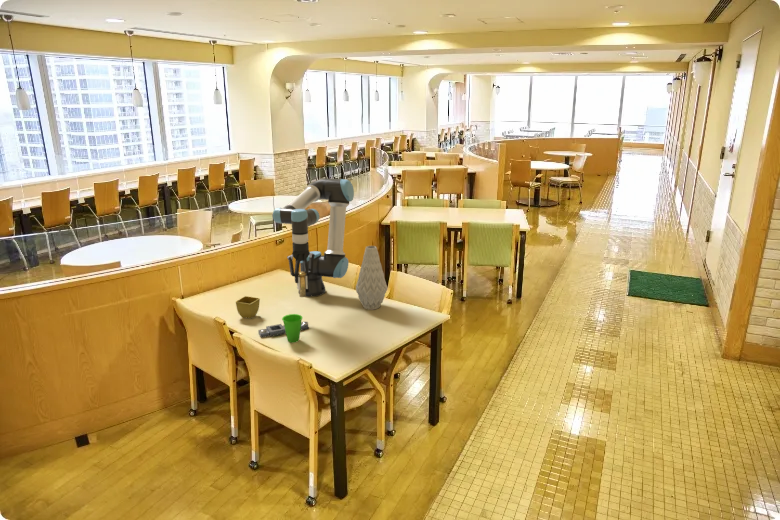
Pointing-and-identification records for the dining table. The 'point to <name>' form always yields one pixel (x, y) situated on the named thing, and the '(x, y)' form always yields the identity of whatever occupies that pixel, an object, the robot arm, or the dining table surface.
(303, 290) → the brass pin
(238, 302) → the flower pot
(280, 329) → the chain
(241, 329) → the dining table surface
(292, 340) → the cup
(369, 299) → the vase
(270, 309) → the dining table surface
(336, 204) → the robot arm
